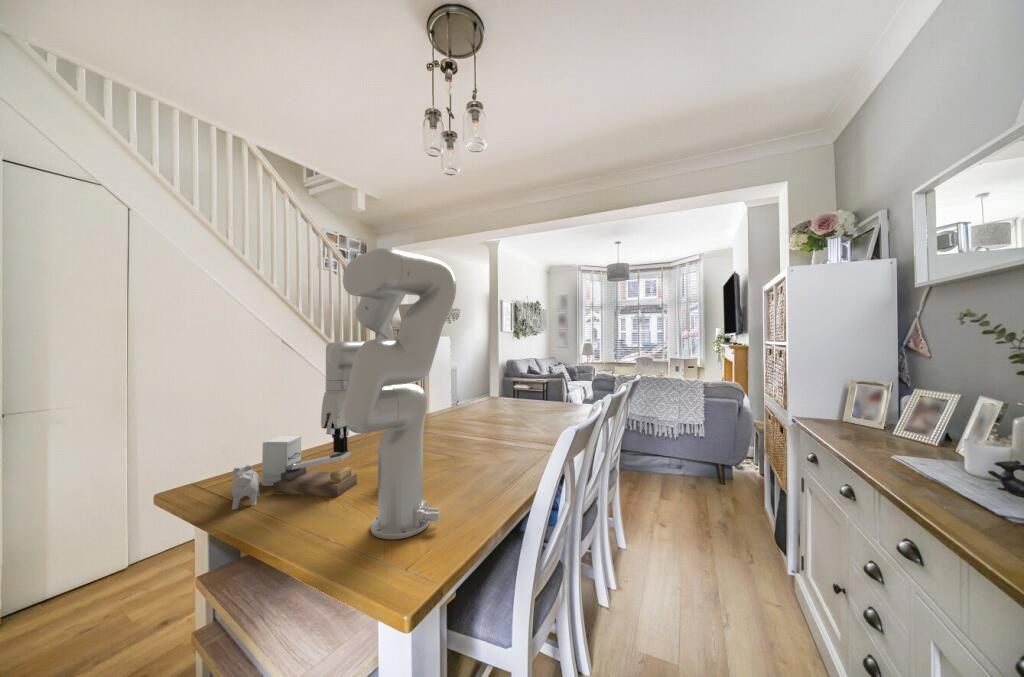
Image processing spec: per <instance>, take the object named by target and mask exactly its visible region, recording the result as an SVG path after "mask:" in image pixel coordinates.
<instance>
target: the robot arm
mask: <svg viewBox="0 0 1024 677" xmlns="http://www.w3.org/2000/svg"><path fill="white" fill-rule="evenodd" d="M342 275H343V276H342V285H343V288H344V291H345V292H346V293H347V294H349V295H350V296H353V297H361V298H360V299H359V302H358V304H357V306H356V309H355V310H354V311H355V313H354V314H355V318H356V319H357V321H358V322H359V324H361V325H362V326H364V328H366V329H368V330H370V331H372V332H373V333H376V334H378V335H377V337H376V338H374V339H370V340H355V341H354V340H352V341H351V340H350V341H349V340H348V341H347V340H346V341H338V342H334V341H333V342H329V343H328V344H326V347H325V392H324V394H323V399H322V405H321V416H320V426H321V427H320V428H322V429H323V430H325V429H326V435H331V438H332V439H333V443H332V447H333V452H334V453H337V452H345V451H347V450H348V436H349V434H350V431H351V432H353V433H355V434H368V433H374V432H378V431H382V430H384V433H383V435H382V436H381V439H380V441H379V445H378V454H377V458H378V459H377V461H378V462H377V463H378V464H377V465H378V466H377V469H378V470H377V471H378V477H377V478H378V479H377V481H378V482H377V485H378V486H377V487H378V488H377V489H378V490H377V491H378V494H377V497H378V502H377V503H378V504H377V505H378V506H377V507H378V508H377V509H378V513H377V514H378V515H377V516H376V517H375V518H374V519H372V521H371V523H370V532H371V534H372V535H373V536H374V537H377V539H378V538H379V539H381V540H382V539H383V540H401V539H405V538H410V537H413V536H415V535H418V534H420V533H421V532H422V531H424V530H425V529H427V527H428V526H429V525H430V522H431V523H432V522H433V523H434V522H435V523H437V522H438V523H439V522H440V520H441V512H440V510H439V508H438V507H429V506H428V500H426V499H424V493H423V492H424V485H423V483H424V479H423V478H424V475H423V474H424V473H423V472H424V470H423V468H424V462H423V459H424V455H423V454H424V428H425V422H426V421H425V420H426V415H427V410H428V398H427V393H426V391H425V390H424V389H423V388H422V387H421V386H420V385H418V384H416V383H419V382H422V381H424V380H426V379H427V377H428V376H429V374H430V372H431V369H432V367H433V363H434V359H435V355H436V353H437V350H438V345H439V342H440V338H441V334H442V331H443V328H444V325H445V322H446V321H447V318H448V316H449V315H450V312H451V310H452V307H453V305H454V303H455V299H456V295H457V294H456V293H457V280H456V277H455V274H454V272H453V270H452V268H451V267H450V266H449V265H447V263H446V262H443V261H441V260H439V259H437V258H433V257H430V256H427V255H422V254H416V253H411V252H405V251H401V250H397V249H394V248H393V249H392V248H387V247H386V248H385V247H381V248H380V247H379V248H376V249H372V250H370V251H366V252H364V253H362V254H359V255H358V256H355V257H354V258H353V259H351V260H350V261H349V262H348V264H346V266H345V269H344V272H343V274H342ZM406 295H408V296H409V295H411V296H419V298H418V299H417V301H415V302H413V303H412V305H411V306H409V308H408V309H407V310H406V312H405V313H404V314H403V316H402V318H401V320H400V321H401V322H400V324H399V329H398V333H397V335H396V336H395V332H394V328H393V326H392V324H391V321H392V320H393V318H394V316H395V314H397V313H396V312H397V311H398V308H399V307H400V305H401V303H402V302H403V300H404V298H405V296H406Z"/></svg>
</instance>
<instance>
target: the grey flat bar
mask: <svg viewBox="0 0 1024 677" xmlns="http://www.w3.org/2000/svg"><path fill="white" fill-rule="evenodd" d="M349 456H352V453H351V451H349V449H347V451H345V452H334V453H333V454H330V455H327V456H323V457H317V458H313V459H307V460H304V461H303V460H301V461H298V462H295V463H293V464H291V465H289V466H287V467H286V468H285V470H286V471H287V472H289V471H291V470H294V469H298V468H303V467H306V468H308V467H312V466H316V465H321V464H325V463H330V462H332V463H333V462H336V461H340V460H345V459H346V458H348V457H349Z"/></svg>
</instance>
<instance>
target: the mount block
mask: <svg viewBox="0 0 1024 677" xmlns="http://www.w3.org/2000/svg"><path fill="white" fill-rule="evenodd" d="M357 477H358V473H356V472H352V467H351V466H350V467H348V466H340V467H339V468H337V469H336V470H333V471H332V472H331V471H330V472H329V471H328V472H327V471H326V472H325V471H309V470H307V467H303V468H298V469H294V470H291V471H289V472H287V471H285V472H283V473H281V479H280V480H278V481H276V482H273V487H272V488H273V489H272V490H273V492H272V494H273V493H282V494H281V495H292V494H301V495H300V496H312V495H316V497H332V498H333V497H335V498H337V497H340V496H341V495H343V494H344V493H346V492H347V491H349V490H350V489H351V488H353V487H354V486H356V485H357V484H358V478H357Z"/></svg>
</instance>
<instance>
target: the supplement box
mask: <svg viewBox="0 0 1024 677" xmlns="http://www.w3.org/2000/svg"><path fill="white" fill-rule="evenodd" d="M261 458H262V460H261V461H262V465H261V466H262V469H261V470H262V471H261V476H262V477H261V486H264V487H265V486H268V487H270V486H271V487H272V486H273V482H276V481H278V480H280V479H281V473H283V472H285V471H286V470H285V468H286V467H287V466H289V465H291V464H293V463H295V462H298V461H301V462H302V436H301V435H297V436H295V435H286V436H285V435H284V436H277V437H274V438H271V439H269V440H266V441H263V442H262V457H261Z"/></svg>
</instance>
